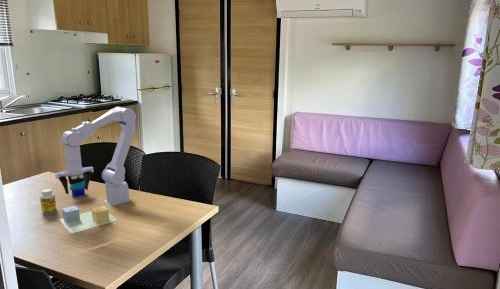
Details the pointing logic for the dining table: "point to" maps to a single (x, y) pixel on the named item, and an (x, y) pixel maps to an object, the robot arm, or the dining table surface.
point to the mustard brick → (100, 214)
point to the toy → (77, 184)
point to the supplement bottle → (48, 201)
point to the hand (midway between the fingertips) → (76, 191)
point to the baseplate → (85, 222)
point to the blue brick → (71, 214)
